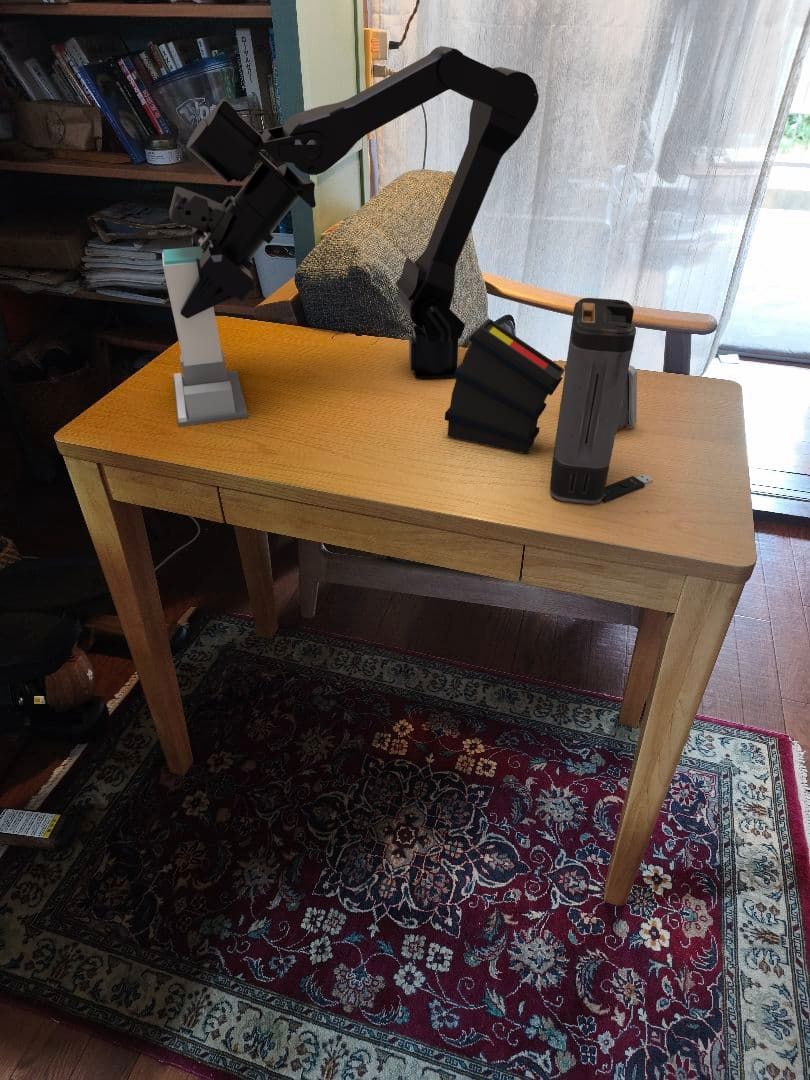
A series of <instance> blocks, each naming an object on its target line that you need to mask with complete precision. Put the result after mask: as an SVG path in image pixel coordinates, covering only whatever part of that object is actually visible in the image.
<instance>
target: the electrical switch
mask: <svg viewBox="0 0 810 1080" xmlns="http://www.w3.org/2000/svg"><path fill="white" fill-rule="evenodd" d="M563 367H564V368H563V369H564V370H565V369H566V364H564V366H563ZM637 397H638V371H637V370H636V368H635V366H633V365H630V364H629V369H628V374H627V379H626V384H625V390H624V396H623V401H622V405H621V410H620V414H619V419H618V425H617V430H616V432H617V431H618V430H620V429H622V428H624V427H626V428H628V429H632V428H633V427H634V426H635V425H636V423H637V422H638V421H637V416H638V415H637V413H638V411H637V409H638V408H637V407H638V406H637V404H638V401H637V400H638V399H637Z"/></svg>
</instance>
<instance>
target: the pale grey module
mask: <svg viewBox="0 0 810 1080" xmlns="http://www.w3.org/2000/svg"><path fill="white" fill-rule="evenodd" d="M203 254H204V252H203V249H201V246H199V247H193V246H192V247H191V246H190V247H189V246H188V247H179V248H167V249H166V248H165V249H162V252H161V255H162V256H161V257H162V268H163V273H164V277H165V281H166V286H167V292H168V296H169V301H170V306H171V310H172V316H173V318H174V324H175V330H176V334H177V338H178V344H179V348H180V353H181V355H182V358H183V363H184V366H190V365H198V364H206V363H214V362H223V359H222V353H221V350H222V348H221V343H220V337H219V336H220V335H219V330H218V325H217V320H216V314H215V308H214V307H215V306H213V307H211V308H209V309H207V310H204V311H202V312H200V313H198V314H196V315H194V316H192V317H190V318H185V317H184V316H182V315H181V313H180V312H181V309H182V307H183V305H184V303H185V301H186V299H187V297H188V295H189V294H190V292H191V290H192V288H193V286H194V284H195V282H196V280H197V278H198V269H197V263H196V258H198V259H199V260H201V258H202V256H203Z"/></svg>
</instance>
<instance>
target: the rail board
mask: <svg viewBox="0 0 810 1080" xmlns="http://www.w3.org/2000/svg"><path fill="white" fill-rule="evenodd" d="M221 353H222V359H223V362H214V363H206V364H198V365H190V366H184V363H183V358H182V354H179V361H180V367H181V371H182V372H178V373H177V372H176V373H174V374H173V385H174V386H173V387H174V389H173V390H174V398H175V399H174V400H175V407H176V408H175V410H176V418H177V425H178V426H177V427H180V428H181V427H186V426H193V425H200V424H209V423H217V422H224V421H225V422H226V421H231V420H232V421H233V420H239V419H247V418H249V415H248V411H247V406H246V403H245V399H244V395H243V391H242V387H241V383H240V379H239V376H238V372H237V370H228V371H227V366H226V359H225V354H224V350H223V349H221Z"/></svg>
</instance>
